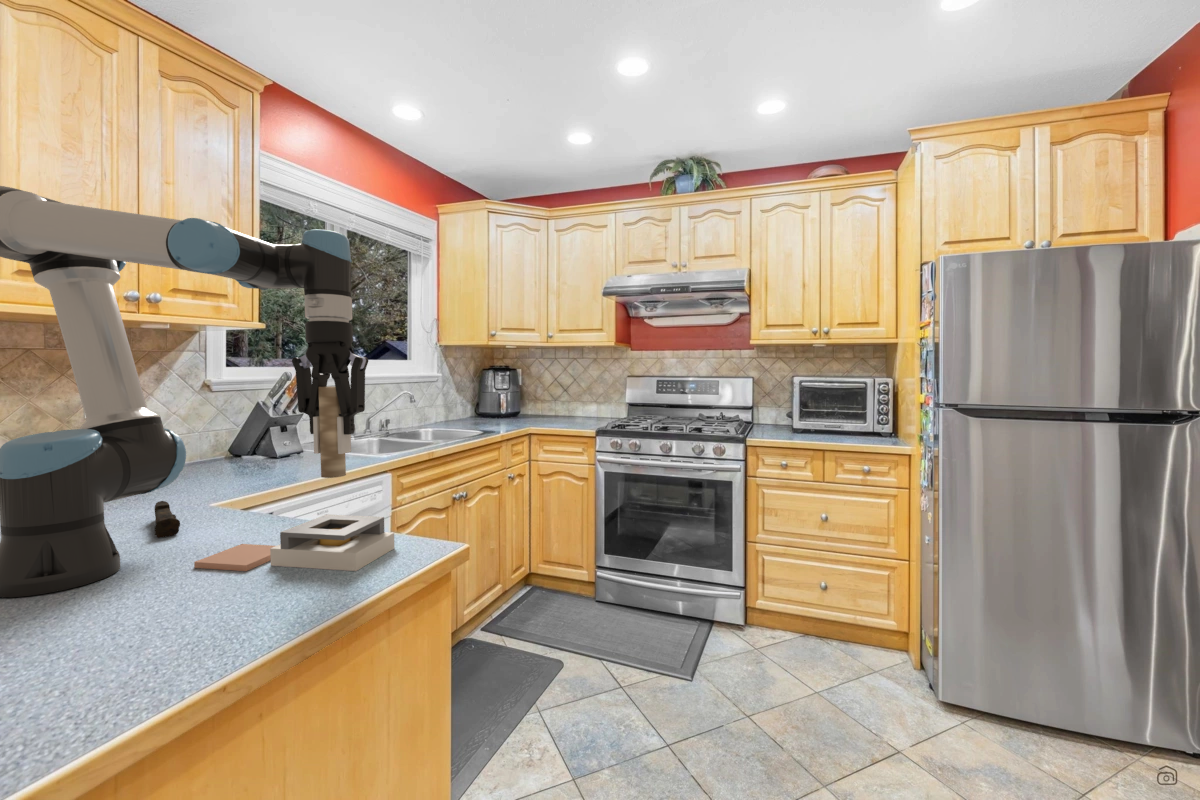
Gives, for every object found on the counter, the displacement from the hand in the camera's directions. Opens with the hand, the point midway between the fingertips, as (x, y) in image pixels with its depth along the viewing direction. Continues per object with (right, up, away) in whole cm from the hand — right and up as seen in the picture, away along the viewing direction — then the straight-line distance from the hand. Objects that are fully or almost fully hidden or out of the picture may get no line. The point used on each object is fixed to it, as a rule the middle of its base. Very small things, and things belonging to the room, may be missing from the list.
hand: (332, 452), depth 97 cm
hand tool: (-46, -18, +19) cm, 53 cm away
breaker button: (0, -17, 0) cm, 17 cm away
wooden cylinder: (0, -4, 0) cm, 4 cm away
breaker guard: (0, -19, 0) cm, 19 cm away
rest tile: (-15, -19, -1) cm, 24 cm away
